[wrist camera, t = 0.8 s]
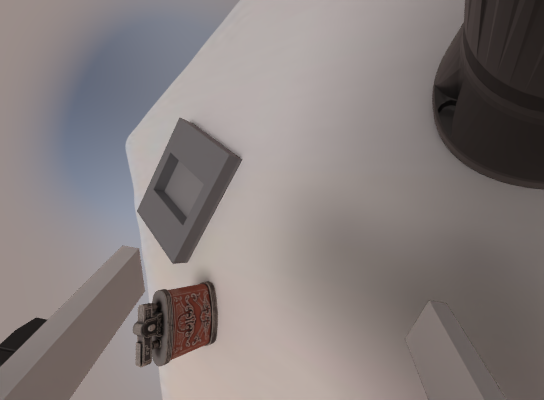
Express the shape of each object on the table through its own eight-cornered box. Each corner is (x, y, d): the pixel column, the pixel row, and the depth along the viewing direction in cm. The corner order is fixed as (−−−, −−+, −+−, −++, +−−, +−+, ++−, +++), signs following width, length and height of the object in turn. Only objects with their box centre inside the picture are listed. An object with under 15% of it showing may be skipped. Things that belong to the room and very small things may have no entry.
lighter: (200, 281, 37) (129, 293, 29) (216, 281, 35) (146, 294, 27) (201, 342, 35) (127, 373, 27) (218, 345, 33) (144, 379, 25)
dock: (192, 123, 43) (179, 117, 40) (242, 159, 35) (229, 154, 33) (150, 212, 46) (137, 211, 44) (187, 262, 39) (172, 263, 37)
